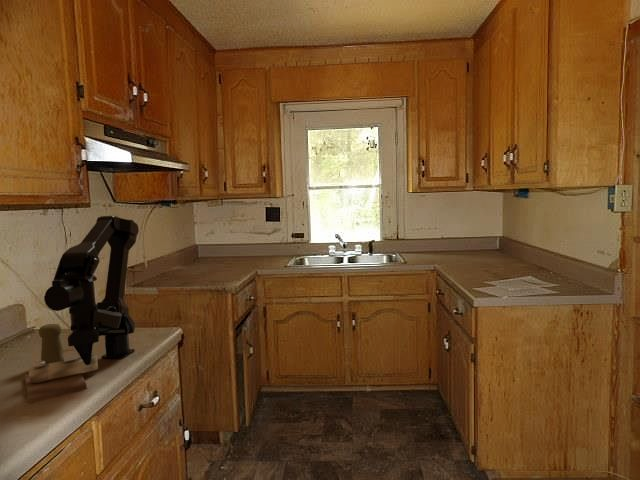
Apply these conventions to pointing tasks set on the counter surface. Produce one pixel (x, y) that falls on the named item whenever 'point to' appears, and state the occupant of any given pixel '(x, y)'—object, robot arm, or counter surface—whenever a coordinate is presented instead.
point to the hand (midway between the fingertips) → (88, 364)
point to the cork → (50, 343)
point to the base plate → (54, 387)
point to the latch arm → (61, 369)
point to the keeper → (64, 356)
